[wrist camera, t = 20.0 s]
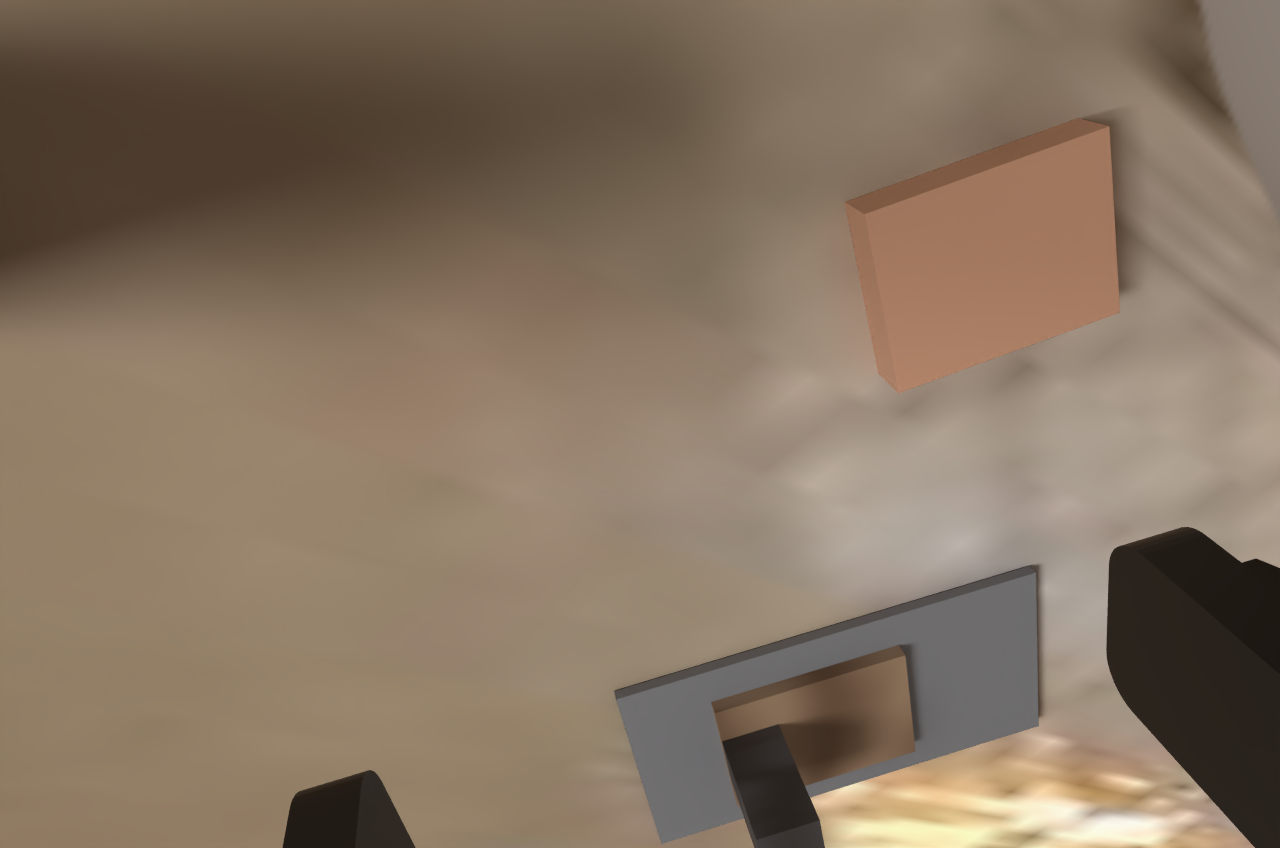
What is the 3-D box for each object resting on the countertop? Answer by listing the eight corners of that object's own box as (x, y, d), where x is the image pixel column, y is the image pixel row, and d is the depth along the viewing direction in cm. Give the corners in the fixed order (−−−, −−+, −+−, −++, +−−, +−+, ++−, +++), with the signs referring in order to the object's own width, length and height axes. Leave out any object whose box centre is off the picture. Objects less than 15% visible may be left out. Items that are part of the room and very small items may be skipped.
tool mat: (659, 834, 52) (661, 843, 51) (614, 691, 47) (616, 699, 46) (1032, 718, 53) (1038, 725, 53) (1029, 565, 48) (1036, 572, 47)
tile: (898, 393, 39) (1120, 312, 40) (864, 214, 36) (1109, 126, 36) (874, 370, 42) (1084, 293, 42) (840, 199, 38) (1071, 116, 38)
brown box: (733, 794, 51) (772, 908, 45) (710, 702, 47) (749, 810, 41) (909, 740, 51) (970, 844, 45) (898, 644, 48) (963, 743, 42)
